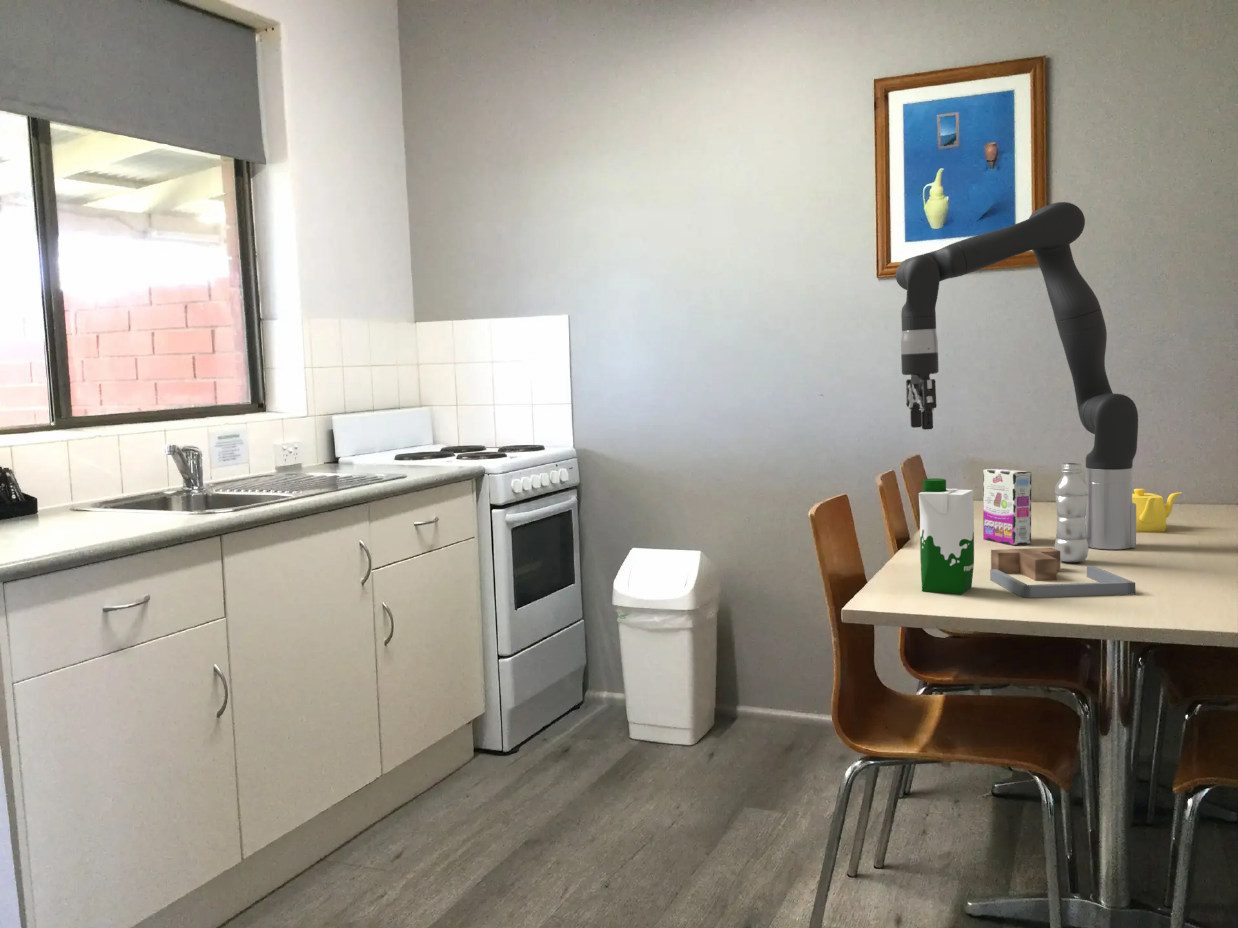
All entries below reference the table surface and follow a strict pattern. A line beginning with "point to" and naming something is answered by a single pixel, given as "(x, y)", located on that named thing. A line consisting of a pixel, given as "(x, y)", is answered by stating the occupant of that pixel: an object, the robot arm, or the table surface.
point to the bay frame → (1068, 585)
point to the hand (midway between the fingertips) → (921, 428)
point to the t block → (1028, 562)
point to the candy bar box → (1007, 506)
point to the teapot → (1151, 510)
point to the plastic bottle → (1071, 514)
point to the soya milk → (946, 537)
